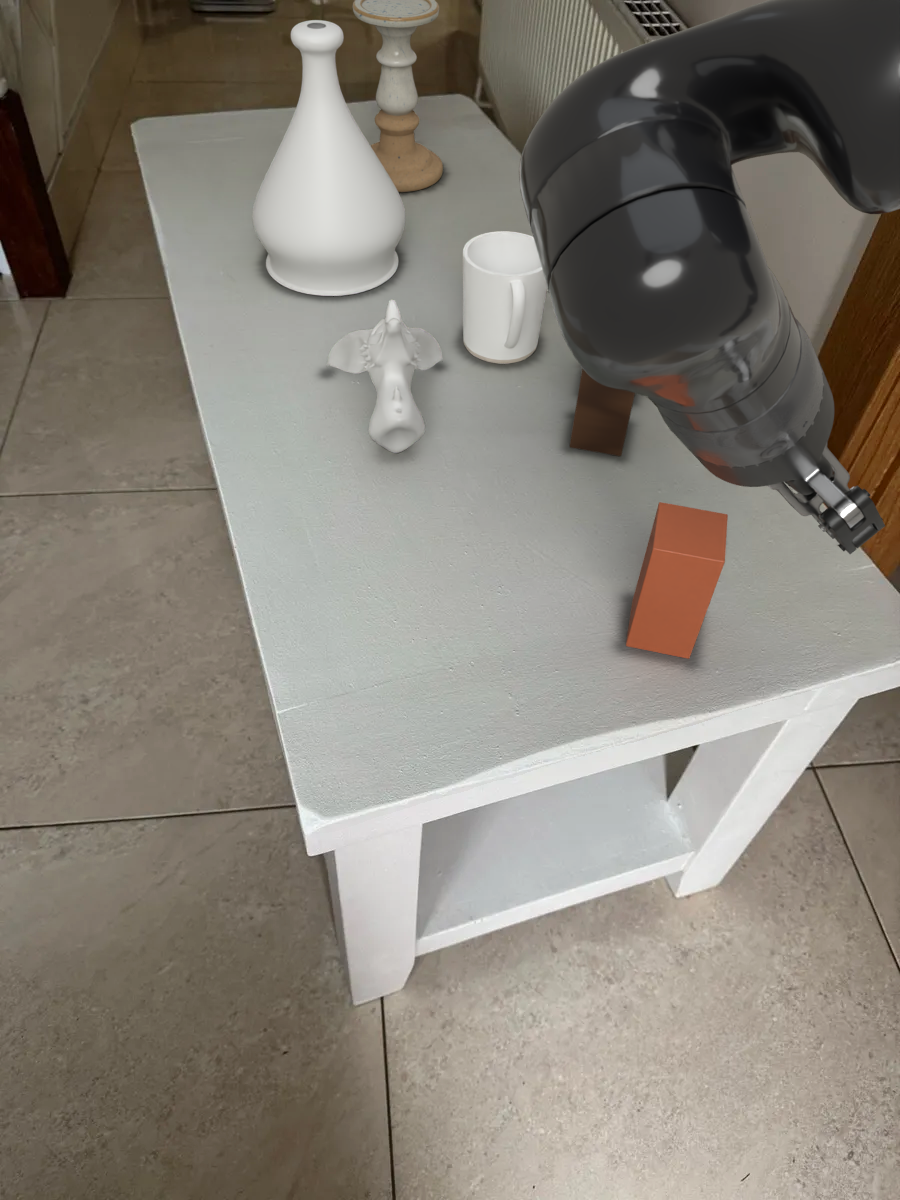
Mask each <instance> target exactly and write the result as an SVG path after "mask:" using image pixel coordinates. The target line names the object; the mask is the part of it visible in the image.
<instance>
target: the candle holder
mask: <svg viewBox="0 0 900 1200" xmlns="http://www.w3.org/2000/svg"><path fill="white" fill-rule="evenodd" d="M352 12H353V15H354V16H355V18H357V19H358V20H360V21H362V22H363V23H365V24H369V25H372V26H374V27H375V29H376V30H377V32H378V33H379V34H380V37H381V39H382V43H381V44H382V45H381V48H380V49H379V50H378V51H377V52H376V55H375V56H376V57H375V58H376V60H377V62H378V63H379V64H380V66H381V67H380V76H379V81H378V85H377V88H376V92H375V103H376V105H377V107H378V108H379V109H380V110H379V111H378V112H377V114H376V115H375V117H374V124H375V125H376V127H377V129H378V130H379V131H380V133H379V141H377V142H375V143H372V144H370V146H371V148H372V149H373V151H374V152H375V154H376V156H377V157H378V159H379V160H380V162H381V164H382V165H383V167H384V168H385V170H386V172H387V173H388V175H389V177H390V178H391V180H392V182H393V183H394V185H395V187H396V189H397V191H398V193H409V192H416V191H421V190H424V189H427V188H429V187H431V186H433V185H435V184H437V182H439V181H440V179H441V178H442V175H443V171H444V170H443V169H444V165H443V161H442V159H441V158H440V157H439V155H438V154H436V153H435V152H434V151H432V150H430V149H428V148H427V147H426V146H424V145H423V144H422V143H419V142H416V139H415V138H416V137H415V130H416V129H417V127H419V125H420V117H419V115H418V114H417V113H416V112H415V111H414V110H415V109H416V107H417V105H418V103H419V94H418V90H417V87H416V83H415V79H414V74H413V65H414V64H415V63H416V61H417V58H418V57H417V54H416V53H415V51H414V50H413V49H412V46H411V38H412V35H413V34H414V33H415V32H416V31H417V30H418V29H417V28H418V27H421V26H425V25H427V24H429V23H432V22H433V21H435V20H436V19H437V18H438V16H439V15H440V5H439V3H438V2H437V0H353V3H352Z"/></svg>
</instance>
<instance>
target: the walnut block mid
mask: <svg viewBox="0 0 900 1200" xmlns="http://www.w3.org/2000/svg"><path fill="white" fill-rule="evenodd" d="M635 396H636V393H632V392H628V391H623V390H619V389H614V388H609V387H606V386H604V385H601V384H600V383H598V382H597V381H595V380H594V379H592V378H591V377H590V376H589V375H588V374H587V373H586V372H585V371H584V369H583V368H582V367H581V373H580V379H579V385H578V392H577V398H576V403H575V409H574V417H573V422H572V429H571V435H570V440H569V448H572V449H577V450H581V451H582V450H583V451H588V452H595V453H599V454H605V455H610V456H611V455H612V456H617V457H622V455H623V450H624V446H625V440H626V437H627V432H628V428H629V424H630V423H629V422H630V418H631V413H632V408H633V406H634V405H633V404H634V401H635Z"/></svg>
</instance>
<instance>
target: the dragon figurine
mask: <svg viewBox="0 0 900 1200" xmlns="http://www.w3.org/2000/svg"><path fill="white" fill-rule="evenodd" d="M402 318H403V317H402V314H401V311H400V308H399V305H398V303H397V301H396V300H395V299H390V300H389V301H388V302H387V306H386V310H385V316H384V318H382V319H380V320H379V321H378V322H377V323H376V325H375V326H374V327H372V328H368V329H364V328H363V329H359V330H353V331H351V332H349V333H347V334H345V335H343V336H342V337H340V338H339V339H338V340H337V341H336V342H335V343H334V344H333V345H332V347H331V349H330V351H329V353H328V356H327V359H326V367H328V366H330V367H333V368H337V369H339V370H341V371H342V372H345V373H349V374H355V375H357V374H361V373H364V372H368V374H369V377H370V379H371V382H372V384H373V387H374V389H375V391H376V401H375V404H374V405H375V406H374V408H373V411H372V414H371V416H370V419H369V423H368V435H369V437H370V439H372V441H374V442H375V443H376V444H378V445H379V446H381V447H382V448H384V449H386V450H387V451H389V452H390V453H392V454H400V453H402V452H404V451H406V450H407V449H408V448H410V447H411V446H412V445H414V444H415V443H417V442H418V441H419V440H420V439H422V437H423V436H424V434H425V433H426V424H425V419H424V418H423V415H422V412H421V410H420V409H419V408H418V405H417V404H416V400H415V398H414V396H413V392H412V390H411V386H412V383H413V377H414V373H415V370H421V371H426V370H429V369H431V368H433V367H434V366H435V365H436V364H437V363H439V362H441V363H443V362H444V360H443V351H442V348H441V346H440V344H439V342H438V340H437V339H436V338H435V337H434V335H432V333H430V332H428V331H427V330H425V329H424V328H421V327H413V326H410V327H408V326H407V325H406V324H405V322H404V321H403V319H402Z"/></svg>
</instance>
